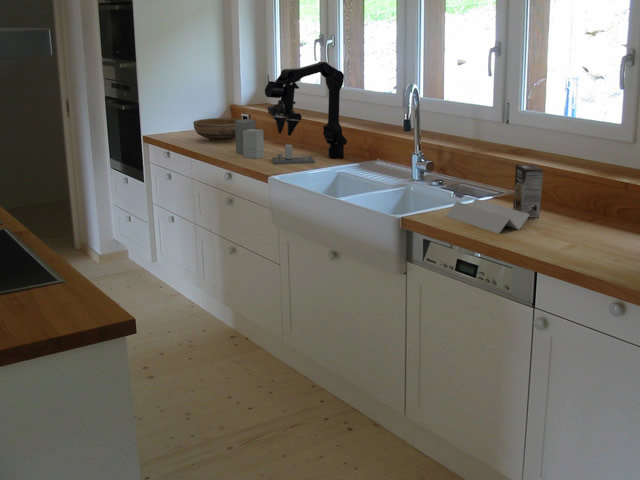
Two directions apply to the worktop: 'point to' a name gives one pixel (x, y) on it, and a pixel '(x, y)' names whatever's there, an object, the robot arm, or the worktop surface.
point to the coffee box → (528, 189)
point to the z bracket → (488, 215)
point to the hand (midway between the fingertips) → (284, 134)
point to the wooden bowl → (216, 129)
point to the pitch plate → (292, 160)
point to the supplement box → (253, 143)
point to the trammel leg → (288, 151)
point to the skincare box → (239, 128)
